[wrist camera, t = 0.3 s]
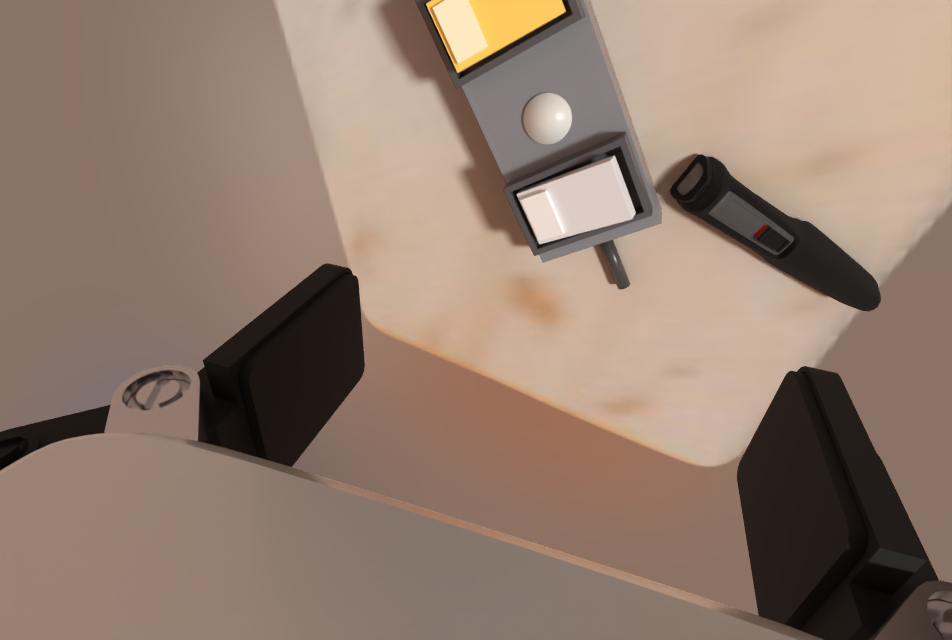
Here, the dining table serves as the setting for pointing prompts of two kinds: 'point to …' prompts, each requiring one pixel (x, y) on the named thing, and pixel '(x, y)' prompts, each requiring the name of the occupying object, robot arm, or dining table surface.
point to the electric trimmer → (774, 234)
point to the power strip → (557, 121)
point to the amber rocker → (487, 25)
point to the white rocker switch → (577, 201)
